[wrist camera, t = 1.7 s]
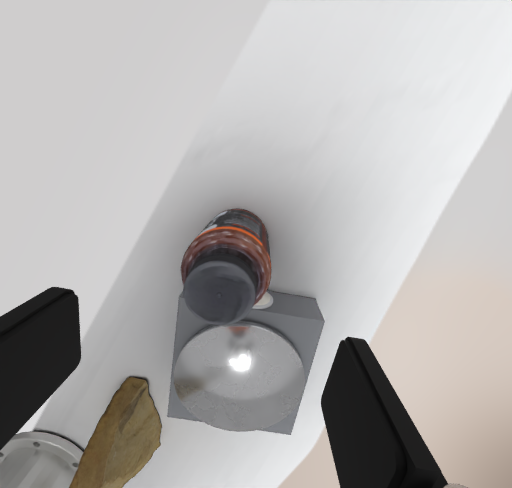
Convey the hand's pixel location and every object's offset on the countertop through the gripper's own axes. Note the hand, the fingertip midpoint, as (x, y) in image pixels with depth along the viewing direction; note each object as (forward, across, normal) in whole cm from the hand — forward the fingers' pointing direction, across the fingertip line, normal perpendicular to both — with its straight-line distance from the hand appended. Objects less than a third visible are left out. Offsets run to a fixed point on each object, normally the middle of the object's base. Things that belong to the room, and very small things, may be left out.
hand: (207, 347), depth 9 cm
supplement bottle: (+16, 0, +1) cm, 16 cm away
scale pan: (+12, -2, +13) cm, 18 cm away
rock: (+16, +8, +25) cm, 31 cm away
